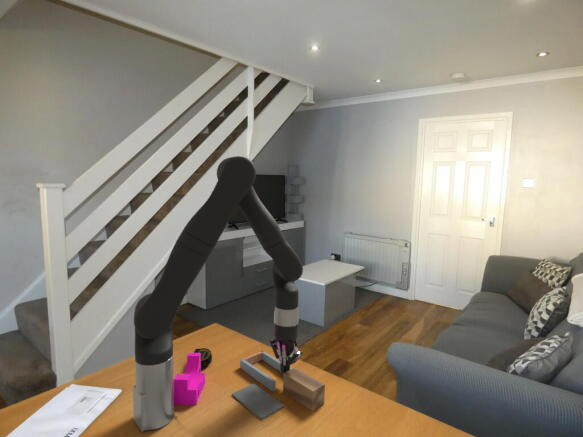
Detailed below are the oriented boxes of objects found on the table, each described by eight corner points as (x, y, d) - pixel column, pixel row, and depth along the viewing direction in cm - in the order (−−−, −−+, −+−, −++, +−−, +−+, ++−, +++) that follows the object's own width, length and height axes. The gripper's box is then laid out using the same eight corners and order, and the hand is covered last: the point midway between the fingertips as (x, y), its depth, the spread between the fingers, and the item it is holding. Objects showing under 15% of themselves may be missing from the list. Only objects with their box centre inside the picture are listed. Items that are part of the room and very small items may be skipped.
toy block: (196, 405, 96) (196, 379, 95) (174, 405, 96) (173, 379, 95) (208, 375, 111) (208, 353, 110) (189, 374, 111) (188, 352, 110)
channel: (272, 391, 103) (273, 382, 102) (240, 368, 115) (240, 359, 115) (295, 379, 109) (296, 370, 109) (262, 358, 121) (262, 350, 121)
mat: (261, 420, 90) (261, 418, 90) (231, 395, 100) (231, 393, 100) (284, 406, 96) (284, 405, 96) (253, 384, 106) (253, 383, 106)
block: (312, 412, 94) (313, 391, 94) (283, 392, 103) (283, 373, 102) (324, 404, 98) (325, 384, 97) (294, 385, 106) (295, 367, 106)
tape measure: (195, 354, 120) (195, 346, 119) (214, 356, 120) (214, 348, 118) (188, 369, 114) (187, 360, 113) (208, 371, 113) (207, 362, 112)
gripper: (262, 316, 106) (262, 369, 108) (292, 331, 96) (290, 389, 98) (281, 311, 111) (279, 361, 113) (310, 323, 102) (308, 379, 103)
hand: (284, 374), depth 106 cm, fingers closed
